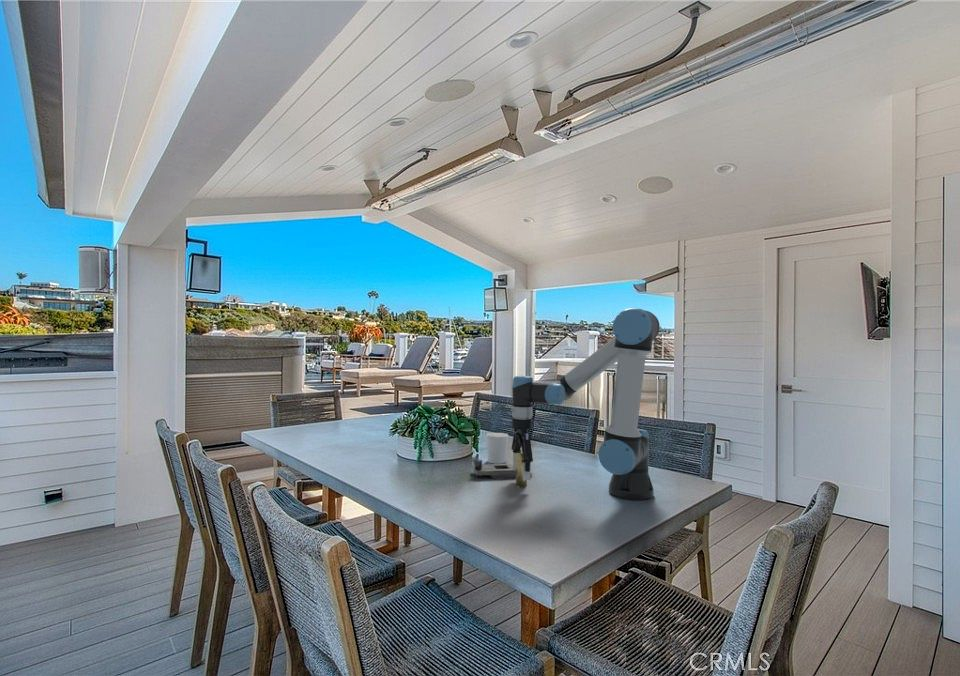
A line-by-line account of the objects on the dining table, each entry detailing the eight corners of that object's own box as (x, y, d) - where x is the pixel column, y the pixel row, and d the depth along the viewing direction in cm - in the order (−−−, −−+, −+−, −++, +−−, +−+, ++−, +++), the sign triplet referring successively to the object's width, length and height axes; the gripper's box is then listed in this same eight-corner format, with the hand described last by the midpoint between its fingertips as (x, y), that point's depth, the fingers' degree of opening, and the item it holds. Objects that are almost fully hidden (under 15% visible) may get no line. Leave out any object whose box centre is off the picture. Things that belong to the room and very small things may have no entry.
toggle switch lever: (525, 483, 181) (525, 451, 181) (528, 486, 177) (528, 454, 177) (514, 484, 180) (515, 451, 180) (517, 487, 176) (517, 454, 176)
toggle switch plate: (524, 470, 199) (524, 455, 199) (531, 477, 189) (531, 461, 189) (472, 472, 195) (472, 457, 195) (476, 479, 185) (476, 463, 185)
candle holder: (508, 464, 208) (509, 437, 209) (486, 464, 209) (486, 436, 209) (507, 459, 218) (508, 432, 218) (486, 458, 218) (486, 432, 219)
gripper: (504, 412, 190) (503, 466, 190) (521, 423, 166) (520, 485, 165) (522, 412, 191) (521, 465, 191) (542, 423, 167) (541, 484, 167)
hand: (521, 475), depth 178 cm, fingers open, 13 cm apart
